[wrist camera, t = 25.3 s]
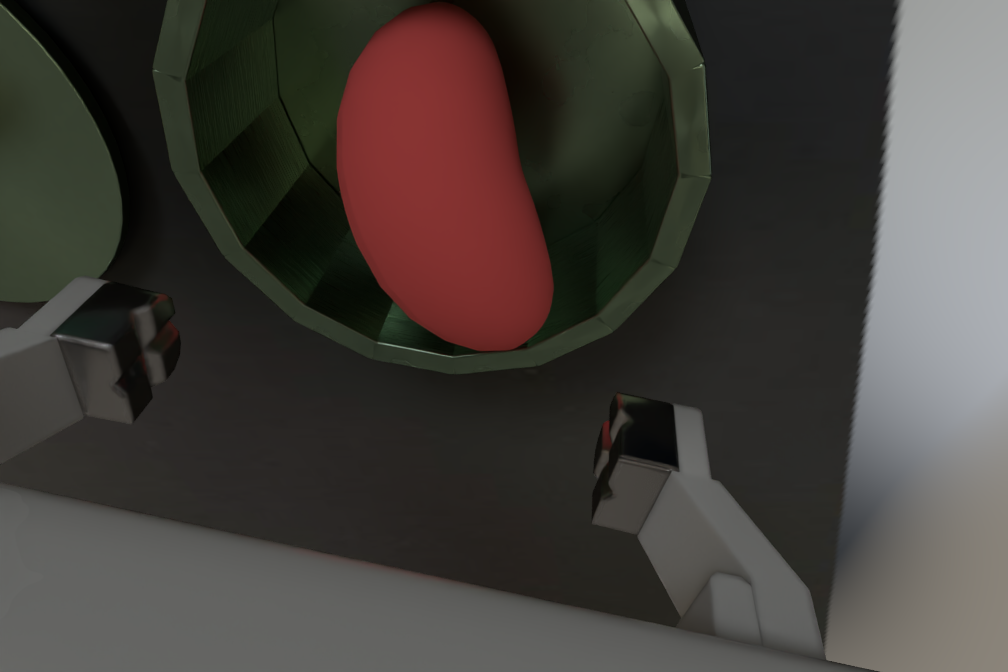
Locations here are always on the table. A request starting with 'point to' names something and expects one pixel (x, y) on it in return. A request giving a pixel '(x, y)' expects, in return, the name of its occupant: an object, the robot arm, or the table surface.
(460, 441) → the table surface
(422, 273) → the red bean shape
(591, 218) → the tin
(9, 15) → the tin lid
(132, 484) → the table surface
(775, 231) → the table surface
